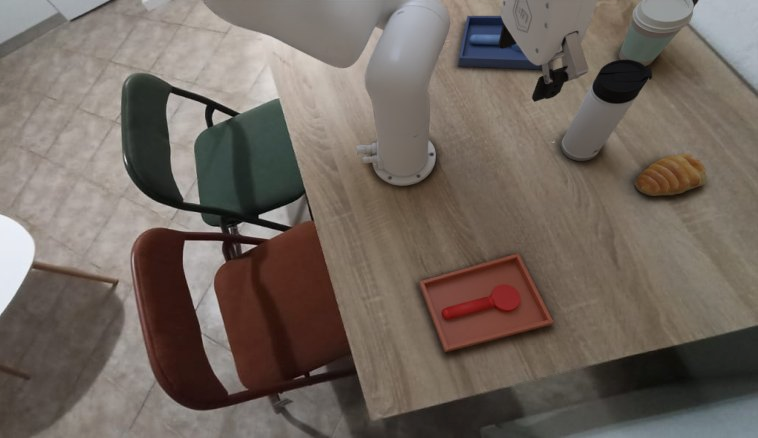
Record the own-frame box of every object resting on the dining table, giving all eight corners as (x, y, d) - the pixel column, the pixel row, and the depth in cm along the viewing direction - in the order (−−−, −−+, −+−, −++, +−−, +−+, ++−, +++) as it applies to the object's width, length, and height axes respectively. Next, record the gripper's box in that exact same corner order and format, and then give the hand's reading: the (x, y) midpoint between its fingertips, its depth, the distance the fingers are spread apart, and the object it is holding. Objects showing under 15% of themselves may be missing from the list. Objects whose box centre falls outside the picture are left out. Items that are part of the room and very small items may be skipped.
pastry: (649, 207, 75) (660, 197, 71) (623, 176, 78) (632, 165, 75) (705, 185, 74) (719, 174, 70) (676, 155, 77) (687, 143, 74)
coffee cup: (669, 68, 84) (706, 18, 73) (617, 76, 86) (646, 28, 75) (654, 35, 87) (687, -17, 77) (605, 44, 89) (630, -7, 79)
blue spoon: (467, 50, 97) (468, 43, 95) (470, 35, 98) (471, 28, 97) (532, 52, 92) (535, 45, 91) (534, 36, 94) (537, 29, 92)
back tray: (457, 66, 96) (458, 57, 94) (466, 24, 100) (467, 15, 98) (546, 69, 90) (549, 60, 88) (551, 25, 94) (554, 15, 92)
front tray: (444, 352, 74) (445, 350, 72) (419, 284, 79) (419, 281, 77) (549, 325, 71) (553, 322, 69) (515, 257, 77) (518, 252, 75)
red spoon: (446, 328, 75) (447, 326, 73) (436, 304, 77) (437, 301, 75) (523, 308, 73) (525, 305, 71) (511, 283, 75) (513, 280, 73)
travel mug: (602, 162, 80) (655, 89, 62) (560, 161, 82) (601, 90, 64) (599, 133, 82) (650, 55, 65) (559, 132, 84) (598, 57, 67)
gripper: (490, -89, 47) (471, 35, 62) (573, 17, 39) (528, 129, 54) (562, -117, 46) (525, 15, 61) (663, -15, 38) (591, 108, 53)
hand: (527, 69), depth 57 cm, fingers open, 9 cm apart
